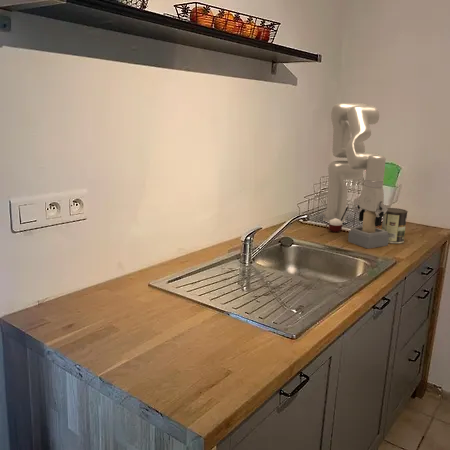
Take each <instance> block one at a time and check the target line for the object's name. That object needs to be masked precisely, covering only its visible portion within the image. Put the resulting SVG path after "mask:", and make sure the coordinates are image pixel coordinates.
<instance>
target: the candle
mask: <svg viewBox="0 0 450 450" xmlns="http://www.w3.org/2000/svg"><path fill="white" fill-rule="evenodd" d="M376 217H377V215H376V213H375V212H372V211H368V210H365V212H364V216H363V221H362V227H363V228H362V231H363V232H366V233H375V230H376V228H377V226H375V219H376Z"/></svg>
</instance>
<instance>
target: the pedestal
mask: <svg viewBox="0 0 450 450" xmlns="http://www.w3.org/2000/svg"><path fill="white" fill-rule="evenodd" d="M362 228H363V226H359V227H356V226H355V227H351V228H350V230H349V231H348V238H347V239H348V240H347V242H348V243H350V244H354V245H357V246H360V247H362V248H365V249H374V248H380V247H386V246H389V243H388V239H389V234H387V233H388V232H387V231H384V230H382V228H377V227H376V230H375V233H366V232H363V231H362Z"/></svg>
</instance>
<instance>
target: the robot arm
mask: <svg viewBox="0 0 450 450" xmlns="http://www.w3.org/2000/svg"><path fill="white" fill-rule="evenodd" d="M330 113H331V114H330V119H331V125H332V128H333V132H332V146H331V147H332V148H331V149H332V155H333V156H334V157H335V158H339V159H340V158H341V159H346V160H333V161H331V162H330V163H329V165H328V167H327V169H328V170H327V171H328V172H327V173H328V190H327V191H328V192H327V203H326V204H327V205H326V210H325V211H323V212H322V215H323V216H324V217H323V218H322V221H323V220H324V221H327V222H329V221H330V220H332V219H334V218H337V219H339V220H341V218H342V216H343V214H344V212H345V210H346V208H347V201H348V191H349V190H348V189H349V188H348V186H347V184H346V183H345V181H347V180H348V181H349V180H351V181H352V180H353V181H354V180H360V179H361V178H362V177H363V175H364V171H365V178H364V180H363V182H364V185H363V186H362V189H361V192H360V198H359V199H357V200H356V205H357V209H358V212H359V215H358V221H359V222H363V216H364V212H365V211H367V210H368V211H372V212H375V213H376V215H377V217H376V219H375V226H376V227H379V226H381V227H382V222H383V216H384V215H385V214H386V212H387V210H388V208H389V207H387V206H386V205H385V203H384V201H385V199H384V198H385V195H384V194H385V191H384V188H383V187H384V181H385V180H384V178H385V168H386V159H387V158H386V157H385V156H384V155H380V154H379V153H377V152H365V151H366V146H365V143H364V142H365V141H366V140H368V139H370V137H371V135H372V130H371V126H370V125H376V124H377V123H378V122H379V119H380V111H379V109H378V108H377V106H375V105H372V104H369V103H362V102H361V103H360V102H338V103H336V104H334V105H333V106H332V108H331V112H330ZM345 219H346V214H345V215H344V217H343V220H342V222H344V221H345ZM324 221H323V222H324Z"/></svg>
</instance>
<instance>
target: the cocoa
mask: <svg viewBox="0 0 450 450" xmlns="http://www.w3.org/2000/svg"><path fill="white" fill-rule="evenodd" d="M348 209H349V207H348V206H346V210H345V212H344V214H343V216H342V218H341V220H339V219H337V218H334V219H332V220H330V221H329V223H326V225H325V227H326V229H327V230H329V231H330V232H332V233H339V232H342V228H343V224H342V223H343V222H342V220H343V217H344V215H345V216H346V213H347V211H348Z"/></svg>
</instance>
